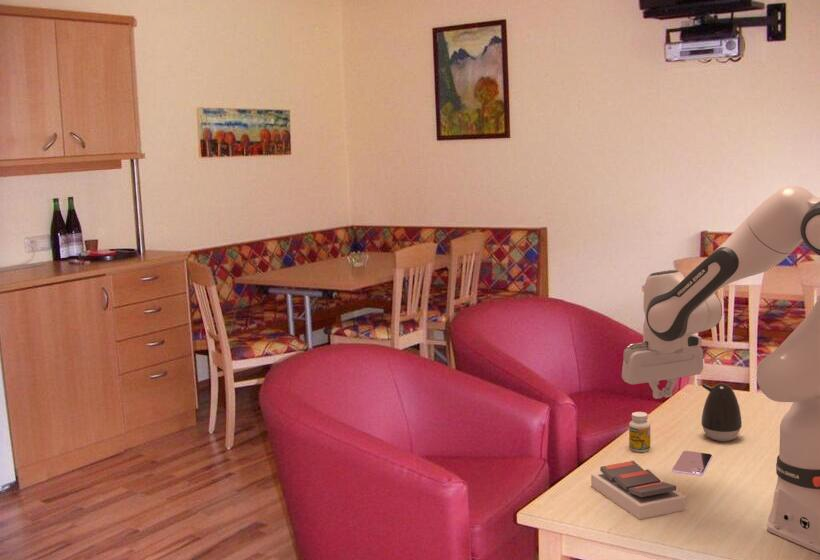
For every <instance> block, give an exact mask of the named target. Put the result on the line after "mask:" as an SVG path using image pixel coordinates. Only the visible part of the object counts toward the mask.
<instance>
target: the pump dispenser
mask: <svg viewBox="0 0 820 560" xmlns="http://www.w3.org/2000/svg"><path fill="white" fill-rule="evenodd" d="M702 388H704V389H706V391H708V394H707V397H706V399H705V402H704V405H703V407H702V408H703V409H702V415H701V422H700V423H701V426H702V429H703V432H704V433H705V435H706V436H707V437H708V438H709V439H711V440H714V441H717V442H729V441H732V440H734V439H735V438H737V436H738V435H739V433H740V430H741V429H742V425H743V424H742V414H741V409H740V404H739V402H738V399H737V396H736V393H735V391H734V390H733V388H732V387H731V386H730V385H728V384H727V383H723V382H720V383H716V384H715V385H714V386H711V385H709V384H706V383H702Z"/></svg>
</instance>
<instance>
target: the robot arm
mask: <svg viewBox="0 0 820 560" xmlns="http://www.w3.org/2000/svg"><path fill="white" fill-rule="evenodd" d="M802 243H804V244H805V245H806V246H807V248H808V249H810V251H812V252H814V253H815V254H816V255H818V256H820V197H818V196H815V194H813V193H811V192H810V191H809V190H807V189H806V188H804V187H801V186H798V185H789V186H788V185H787V186H785V187H782V188H781V189H779V190H778V191H776V192H775V193H774V194H773V193H772V194H771V196H769V197H768V198H767V199H765V200H764V201H763V202H762V203H760V204H759V206H758V207H756V208H755V209H754V210H753V211H752V212H751V213H750V214H749V216H747V218H746V219H744V220H743V222H742V223H741V224H740V225H739V226H738V227H737V228H736V229H735V230H734V231H733V232H732V233H731V234H730V235H729V237H728V238H726V240H724V241H723V243H721V245H719V246H718V247H717V248H716V249H715V250H714V251H713V252H712V253H711V254H709V256H708V257H706V258H705V259H704V260H703V261H702V262H701V263H699V265H697V266H696V267H695V268H694V269H693V270H692V271H691V272H690V273H688V274H687V276H684V274H683V273H682V272H681V271H679V270H674V269H672V270H671V269H669V270H664V271H663V270H662V271H658V272H652V273H650V274H649V275H648V276H647V277H646V279H645V283H644V288H643V289H644V290H643V305H642V306H643V307H642V308H643V312H644V322H643V325H642V326H643V328H642V329H643V330H642V331H643V332H642V333H643V335H642V336H643V338H642V339H643V340H642V341H640V342H637V343H634V342H633V343H630V344H629V345H628V346H626V347H625V349H624V350H623V361H622V368H621V369H622V370H621V378H622V380H623V381H624V383H627V384H629V385H638V384H644V383H645V384H646V383H648V384H649V385H648V386H649V387H650V388H651V390H652V397H653V398H654V399H655V400H656V399H657V400H658V399H662V398H663V397H664V398H670V397H672V396H673V390H674V387H675V386H676V384H677V379H678V378H685V377H693V376H698V375H701V374H702V372H703V370H704V352H703V348H702V347H701V345H702V343H703V338H702V337H701V336H699V335H697V334H698V333H701V332H704V331H708V330H710V329H713V328H715V327H716V326H717V325H718V324H719V323H720V321H721V319H722V315H723V307H722V302H721V300H720V298H719V296H718V295H717V294H716V292H718V291H719V290H720V289H722V288H723V287H725V286H728V285H730V284H731V283H734V282H737V281H740V280H743V279H745V278H748V277H753V276H755V275H759V274H762V273H765V272H768V271H769V270H771V269H772V268H774V267H776V266H777V265H779V264H780V263H782V262H784V260H786V258H788V257H789V256H790V255H791V254H792V253H793V252H794V251H795V250H796V249H797V248H798V247H799V246H800V245H801V244H802ZM757 365H758V366H757V367H756V372H755V373H756V382H757V384H758V387H759V388H760V391H761V392H762V393H763V394H764V396H765V397H766V398H768V399H770V400H771V401H774V402H778V403H792V404H791V406H790V407H789V409H788V411H787V412H786V413H785V415H783V417H782V418H781V421H780V425H779V447H778V448H779V452H778V453H779V454H778V455H777V457H776V463H775V468H776V470H775V472H776V475H777V481H776V485H775V489H774V494H773V499H772V505H771V510H770V514H769V515H768V523H767V526H766V527H767V528H766V530H767V531H768V532H769V533H771V534H774V535H776V536H779V537H780V538H783V539H785V540H787V541H789V542H793V543H795V544H797V545H799V546H802V547H804V548H806V549H808V550H812V551H813V552H815V553H818V554H820V295H819V297H818V298H817V300H816V302H815V303H814V305H813V307H812V308H811V310H810V311H809V313H808V314H807V315H806V316H805V318H804V319H803V320H802V321H801V322H800V323H799V325H798V326H796V328H794V330H793V331H792V332H791V333H790V334H789V335H788V336H787V338H785V339H784V341H782V343H781V344H779V346H777V348H775V349H774V350H773V351H772V352H771V353H769V354H767V355H766V356H765V357H763V358H762V359H761V360H760V361H759V363H758V364H757ZM663 380H664V381H665V380H666V381H667V383H666V384H665V385H666V386H665V387H663V388H662V390H661V389H659V388H658V387H659V385H660V381H663Z"/></svg>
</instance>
